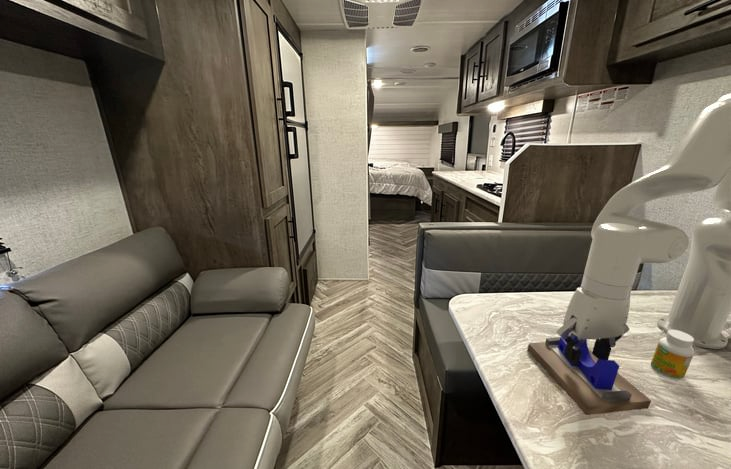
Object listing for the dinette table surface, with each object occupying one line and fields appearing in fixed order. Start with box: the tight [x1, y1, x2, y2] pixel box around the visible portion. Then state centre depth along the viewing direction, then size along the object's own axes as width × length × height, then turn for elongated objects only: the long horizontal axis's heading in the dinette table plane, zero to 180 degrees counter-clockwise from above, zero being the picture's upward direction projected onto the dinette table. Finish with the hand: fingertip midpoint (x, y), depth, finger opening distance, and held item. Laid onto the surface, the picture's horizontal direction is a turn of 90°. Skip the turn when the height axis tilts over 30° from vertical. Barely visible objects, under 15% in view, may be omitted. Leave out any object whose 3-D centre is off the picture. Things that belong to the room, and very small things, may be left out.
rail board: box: [527, 336, 652, 416], centre depth 64 cm, size 13×18×4 cm
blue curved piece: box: [558, 336, 620, 390], centre depth 63 cm, size 12×4×6 cm, turn 172°
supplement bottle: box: [650, 330, 695, 381], centre depth 64 cm, size 5×5×10 cm
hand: (585, 359), depth 63 cm, fingers open, 6 cm apart
